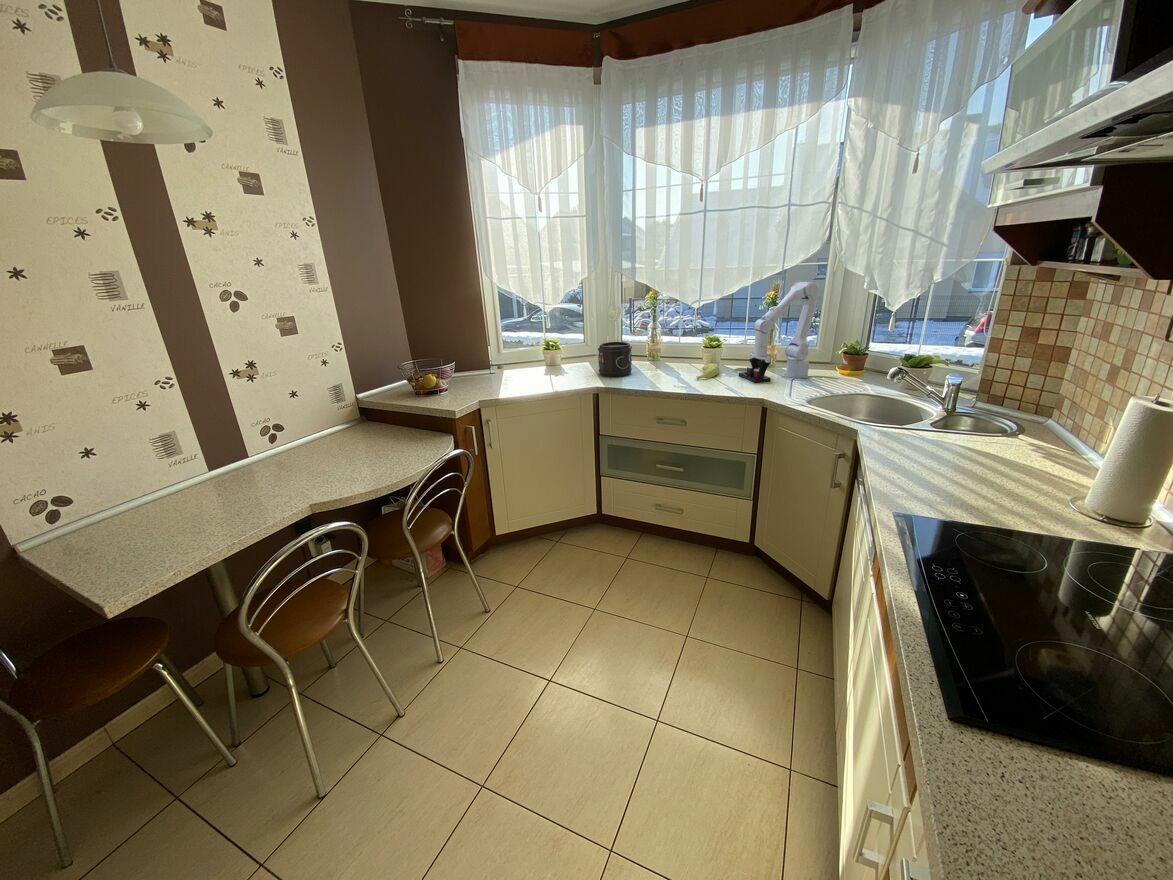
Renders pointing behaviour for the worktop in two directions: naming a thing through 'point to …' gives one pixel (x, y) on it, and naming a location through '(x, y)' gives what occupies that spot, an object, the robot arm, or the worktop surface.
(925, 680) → the worktop surface
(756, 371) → the pod
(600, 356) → the dark cylindrical canister
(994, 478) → the worktop surface
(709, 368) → the pale green gourd
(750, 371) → the pod
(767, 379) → the rack
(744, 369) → the coaster
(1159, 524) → the worktop surface
